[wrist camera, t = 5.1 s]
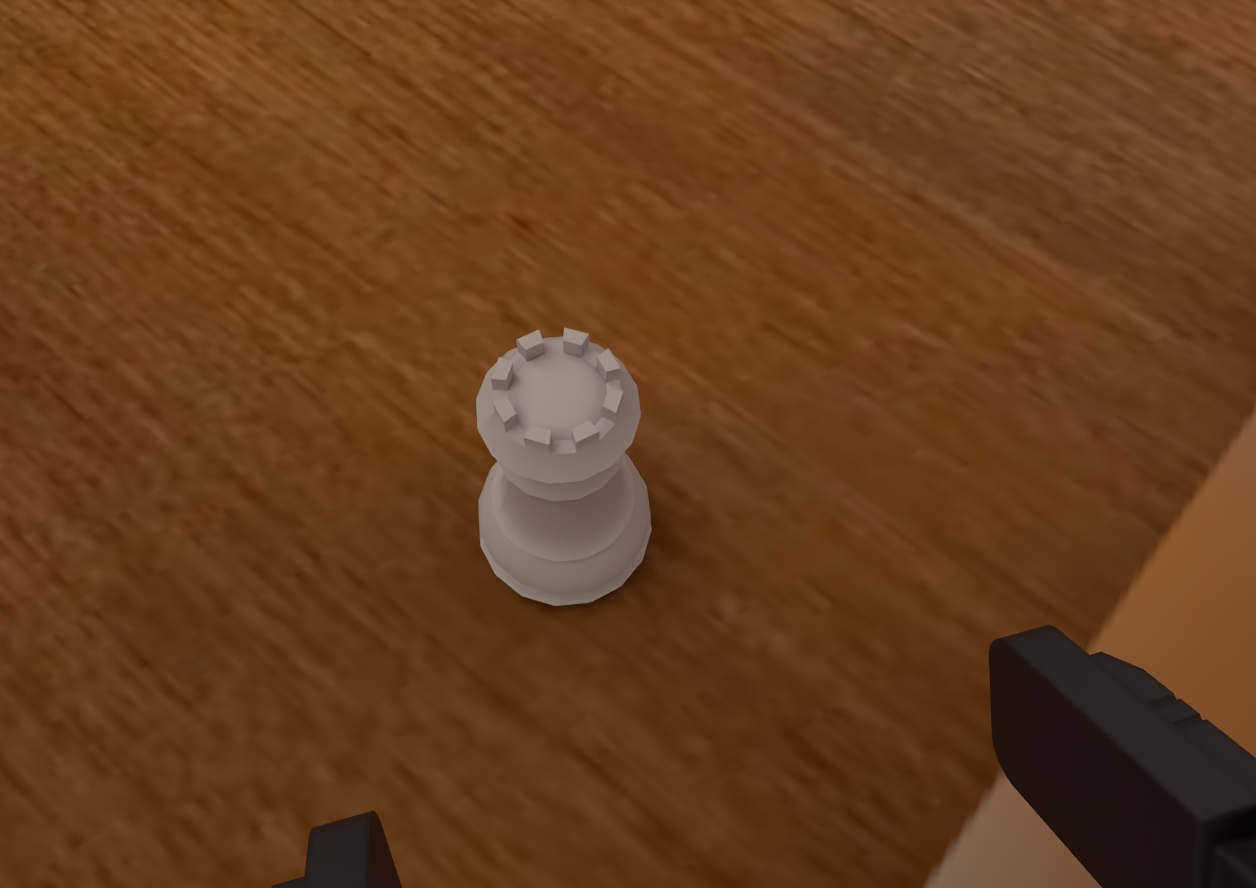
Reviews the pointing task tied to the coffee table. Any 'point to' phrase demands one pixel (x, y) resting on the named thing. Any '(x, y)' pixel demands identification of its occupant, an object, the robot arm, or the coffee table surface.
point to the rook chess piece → (561, 470)
